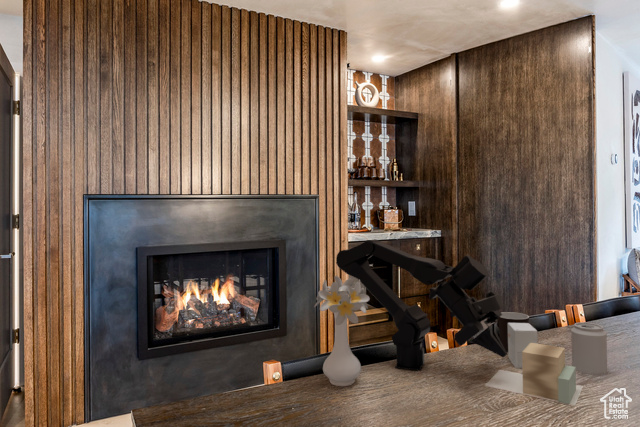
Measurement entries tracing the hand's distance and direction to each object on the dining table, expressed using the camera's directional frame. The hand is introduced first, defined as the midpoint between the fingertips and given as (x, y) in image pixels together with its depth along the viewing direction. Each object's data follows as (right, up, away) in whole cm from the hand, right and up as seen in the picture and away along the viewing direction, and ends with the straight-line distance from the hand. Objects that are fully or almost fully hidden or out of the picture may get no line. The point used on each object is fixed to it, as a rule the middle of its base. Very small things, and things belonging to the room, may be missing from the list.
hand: (505, 355), depth 102 cm
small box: (+10, -7, +13) cm, 18 cm away
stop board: (+10, -6, -8) cm, 14 cm away
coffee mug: (+12, -7, +27) cm, 30 cm away
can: (+24, -7, +7) cm, 26 cm away
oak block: (+7, -6, -5) cm, 10 cm away
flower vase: (-37, -8, +5) cm, 38 cm away
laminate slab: (+6, -7, -2) cm, 9 cm away
